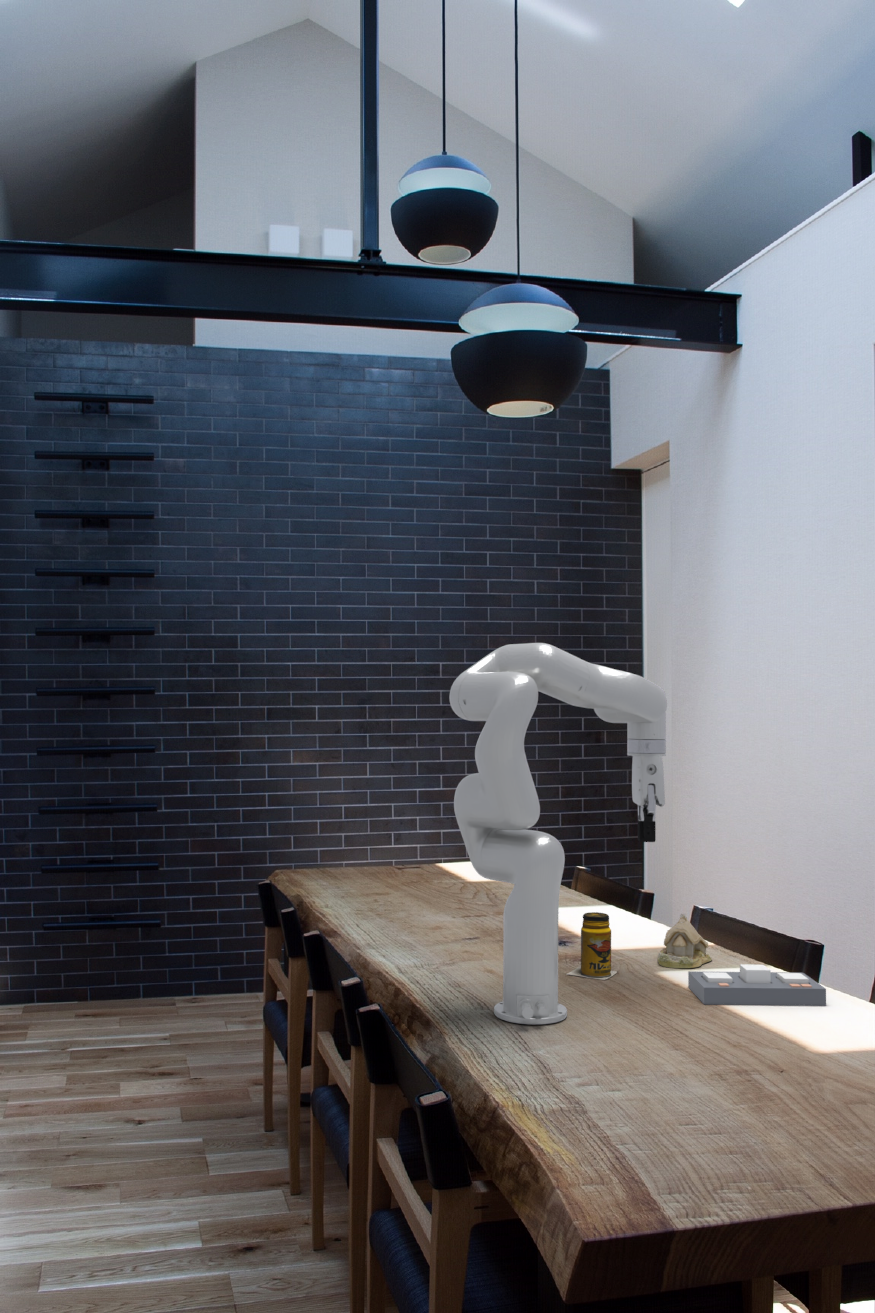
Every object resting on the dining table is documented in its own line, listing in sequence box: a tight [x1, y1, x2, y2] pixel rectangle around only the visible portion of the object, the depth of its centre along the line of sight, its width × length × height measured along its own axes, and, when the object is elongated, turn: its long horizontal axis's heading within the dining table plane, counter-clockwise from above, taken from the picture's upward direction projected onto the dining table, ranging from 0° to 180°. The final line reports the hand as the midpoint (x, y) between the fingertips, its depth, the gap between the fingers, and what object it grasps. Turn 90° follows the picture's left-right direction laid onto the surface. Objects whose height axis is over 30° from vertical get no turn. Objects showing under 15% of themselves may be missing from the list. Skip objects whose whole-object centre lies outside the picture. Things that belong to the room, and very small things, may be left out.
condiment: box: [566, 911, 618, 981], centre depth 212 cm, size 7×8×12 cm
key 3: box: [702, 971, 733, 983], centre depth 196 cm, size 4×4×4 cm
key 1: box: [777, 972, 809, 984], centre depth 196 cm, size 4×4×4 cm
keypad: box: [687, 970, 827, 1007], centre depth 196 cm, size 12×22×3 cm, turn 90°
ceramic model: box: [657, 913, 713, 969], centre depth 224 cm, size 14×11×10 cm
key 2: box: [739, 963, 772, 983], centre depth 196 cm, size 4×4×4 cm
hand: (646, 841), depth 209 cm, fingers closed
